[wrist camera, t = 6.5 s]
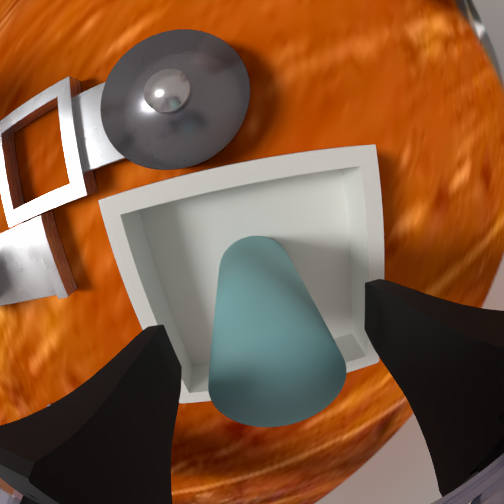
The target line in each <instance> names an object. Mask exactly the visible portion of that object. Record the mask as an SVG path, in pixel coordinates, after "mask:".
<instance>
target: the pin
mask: <svg viewBox="0 0 504 504" xmlns="http://www.w3.org/2000/svg"><path fill="white" fill-rule="evenodd" d="M346 371H347V368H346V363H345V360H344V358H343V356H342V354H341V352H340V350H339V348H338V346H337V344H336V342H335V340H334V338H333V337H332V335H331V333H330V331H329V329H328V327H327V325H326V323H325V321H324V320H323V318H322V316H321V314H320V312H319V310H318V308H317V307H316V305H315V303H314V301H313V299H312V297H311V296H310V294H309V292H308V290H307V288H306V286H305V285H304V283H303V281H302V279H301V277H300V275H299V274H298V272H297V270H296V268H295V266H294V265H293V263H292V261H291V259H290V258H289V256H288V254H287V252H286V251H285V249H284V248H283V247H282V246H281V245H280V244H279V243H278V242H276V241H274V240H272V239H270V238H267V237H263V236H249V237H245V238H242V239H240V240H238V241H236V242H234V243H233V244H232V245H231V246H230V247H229V248H228V249H227V250H226V251H225V253H224V254H223V256H222V258H221V261H220V266H219V275H218V284H217V293H216V303H215V313H214V323H213V334H212V345H211V356H210V368H209V380H208V392H209V396H210V399H211V401H212V403H213V404H214V405H215V407H216V408H217V409H218V410H219V411H220V412H221V413H222V414H224V415H225V416H227V417H228V418H230V419H232V420H234V421H237V422H239V423H242V424H246V425H250V426H257V427H277V426H284V425H289V424H293V423H297V422H300V421H302V420H305V419H307V418H309V417H311V416H313V415H315V414H317V413H319V412H320V411H322V410H323V409H324V408H326V407H327V406H328V405H329V404H330V403H331V402H332V401H333V400H334V399H335V398H336V397H337V395H338V394H339V393H340V391H341V389H342V387H343V385H344V383H345V379H346Z"/></svg>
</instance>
